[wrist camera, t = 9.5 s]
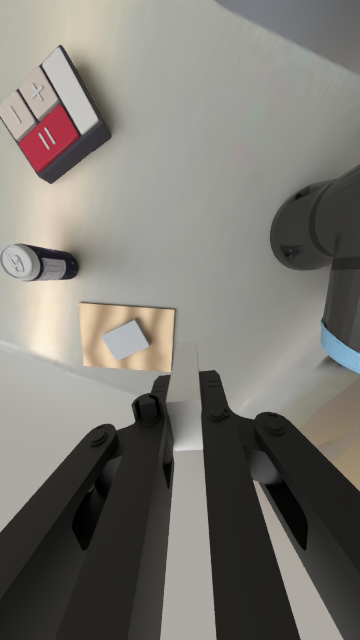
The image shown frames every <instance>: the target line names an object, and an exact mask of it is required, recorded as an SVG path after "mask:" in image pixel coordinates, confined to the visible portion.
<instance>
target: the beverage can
mask: <svg viewBox="0 0 360 640" xmlns="http://www.w3.org/2000/svg"><path fill="white" fill-rule="evenodd" d="M0 263H1V266H2V268H3V269H4V271H5V272H6V273H7V274H8V275H10V276H11V277H13V278H16V279H20V280H23V281H45V280H67V279H72V278H74V277H75V276H76V274H77V272H78V264H77V261H76V259H75V258H74V257H73V256H72V255H71V254H69V253H67V252H63V251H57V250H52V249H47V248H41V247H36V246H31V245H25V244H14V245H9V246H6V247H4V248H3V249H2V251H1V253H0Z"/></svg>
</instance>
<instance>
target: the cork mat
mask: <svg viewBox="0 0 360 640" xmlns="http://www.w3.org/2000/svg"><path fill="white" fill-rule="evenodd" d="M78 304H79V315H80V326H81V337H82V348H83V359H84V366H94V367H108V368H122V369H136V370H150V371H164V372H171V362H172V346H173V329H174V312H175V309H161V308H147V307H133V306H119V305H104V304H90V303H78ZM135 318H137V319H138V321H139V323H140V324H141V326H142V328H143V330H144V331H145V333H146V335H147V337H148V338H149V340H150V342H151V345H150V346H149V347H147V348H145V349H143V350H140V351H138V352H136V353H134V354H132V355H129V356H127V357H125V358H123V359H121V360H119V361H116V359H115V358H114V356H113V355H112V353H111V352H110V350H109V349H108V347H107V345H106V344H105V342H104V341H103V339H102V338H101V336H102V335H103V334H105V333H107V332H109V331H111V330H113V329H115V328H117V327H119V326H121V325H123V324H125V323H127V322H129V321H131V320H133V319H135Z"/></svg>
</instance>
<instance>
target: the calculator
mask: <svg viewBox="0 0 360 640" xmlns="http://www.w3.org/2000/svg"><path fill="white" fill-rule="evenodd" d="M0 118H1V120H2V122H3V123H4V125H5V126H6V128H7V129H8V131H9V132H10V134H11V135H12V137H13V138H14V140H15V141H16V143H17V144H18V146H19V148H20V149H21V151H22V152H23V154H24V155H25V157H26V158H27V160H28V161H29V163H30V164H31V166H32V167H33V169H34V171H35V172H36V174H37V175H38V176H39V177H40V178H42V179H43V180H45V181H47V182H48V183H50V184H52V183H53V182H55V181H56V180H57V179H58V178H60V177H61V176H62V175H64V174H65V173H66V172H67V171H69V170H70V169H71V168H73V167H74V166H75V165H76V164H77V163H78V162H80V161H81V160H82V159H83V158H84V157H86V156H87V155H88V154H89V153H90V152H92V151H95V150H96V149H97V148H99V147H100V146H101V145H103V144H104V143H105V142H107V141H108V140H109V139H110V138H111V134H110V132H109V130H108V128H107V126H106V124H105V122H104V120H103V119H102V117H101V115H100V113H99V111H98V109H97V107H96V106H95V104H94V102H93V100H92V98H91V96H90V94H89V92H88V91H87V89H86V87H85V85H84V83H83V81H82V79H81V77H80V76H79V74H78V72H77V70H76V68H75V67H74V65H73V63H72V61H71V60H70V58H69V56H68V54H67V53H66V51H65V49H64V48H63V46H62V45H59V46H58V47H57V48H56V49H55V50H54V51H53V52H52V53H51V54H50V55H49V56H48V57H47V59H46V60H45V61H44V62H43V63H42V64H41V65H40V66H37V67H36V68H35V69H34V70H33V71H32V72H31V73H30V75H29V76H28V77H27V78H26V79H25V80H24V81H23V82H22V83H21V84H20V85H19V88H18V89H17V90H15V91H13V93H12V94H11V95H10V96H9V97H8V98H7V99H6V100H5V101H4V102H3V103H2V104H1V105H0Z"/></svg>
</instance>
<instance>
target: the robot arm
mask: <svg viewBox="0 0 360 640" xmlns="http://www.w3.org/2000/svg"><path fill="white" fill-rule="evenodd" d="M270 242H271V247H272V250H273V253H274V255H275V256H276V258H277V259H278V260H279V261H280V262H281V263H282V264H283V265H284V266H286V267H288V268H291V269H294V270H314V269H318V268H322V267H324V266H327V265H329V264H331V263H332V268H331V272H330V279H329V285H328V291H327V298H326V304H325V309H324V314H323V317H322V319H321V326H322V332H321V345H322V347H323V349H324V350H325V351H326V352H327V353H328V354H329V356H330V357H331V358H333V359H334V360H335V361H337V362H338V363H340V364H341V365H343V366H345V367H347V368H348V369H350V370H352V371H355V372H357V373H359V374H360V165H358V166H357V167H355V168H353V169H352V170H350V171H349V172H347V173H346V174H344V175H342V176H341V177H339V178H338V179H334V180H329V181H324V182H319V183H315V184H312V185H309V186H307V187H305V188H303V189H301V190H300V191H298V192H297V193H296V194H294V195H293V196H291V197H290V198H289V199H288V200H287V201H286V202H285V203H284V204H283V205H282V206H281V207H280V209H279V210H278V212H277V214H276V216H275V218H274V220H273V223H272V226H271V232H270ZM132 409H133V412H134V417H135V423H134V424H132V425H130V426H128V427H126V428H122V429H119V430H116V429H115V427H114V426H113V425H111V424H103V425H100V426H97V427H96V428H94V429H92V430H91V431H90V432H89V433H88V434H87V435H86V436H85V437H84V438H83V439H82V440H81V441H80V443H79V444H78V445H77V446H76V447H75V448H74V449H73V451H72V452H71V453H70V454H69V455H68V456H67V457H66V459H65V460H64V461H63V462H62V463H61V464H60V465H59V466H58V468H57V469H56V470H55V471H54V472H53V473H52V474H51V476H50V477H49V478H48V479H47V480H46V481H45V482H44V484H43V485H42V486H41V487H40V488H39V489H38V490H37V492H36V493H35V494H34V495H33V496H32V497H31V498H30V499H29V501H28V502H27V503H26V504H25V505H24V506H23V507H22V509H21V510H20V511H19V512H18V513H17V514H16V515H15V516H14V518H13V519H12V520H11V521H10V522H9V523H8V525H7V526H6V527H5V528H4V529H3V530H2V531H1V532H0V640H160V633H161V620H162V609H163V597H164V584H165V572H166V559H167V547H168V535H169V522H170V509H171V498H172V486H173V473H174V458H173V446H174V448H175V451H182V450H199V449H200V450H202V449H203V453H204V467H205V482H206V496H207V511H208V524H209V539H210V553H211V566H212V580H213V594H214V610H215V624H216V637H217V640H301V639H300V636H299V633H298V629H297V627H296V623H295V619H294V616H293V613H292V610H291V606H290V603H289V600H288V596H287V593H286V590H285V586H284V583H283V580H282V576H281V573H280V570H279V567H278V563H277V560H276V557H275V553H274V550H273V546H272V543H271V540H270V536H269V533H268V530H267V526H266V523H265V520H264V516H263V513H262V510H261V506H260V503H259V500H258V496H257V493H256V490H255V486H254V483H253V480H255V481H258V482H259V484H260V486H261V488H262V489H263V491H264V493H265V495H266V497H267V499H268V501H269V502H270V504H271V506H272V508H273V510H274V512H275V513H276V515H277V517H278V519H279V521H280V523H281V524H282V526H283V528H284V530H285V532H286V533H287V536H288V538H289V539H290V541H291V543H292V545H293V547H294V549H295V550H296V552H297V554H298V556H299V558H300V559H301V562H302V563H303V565H304V567H305V569H306V571H307V573H308V574H309V576H310V578H311V580H312V582H313V584H314V586H315V587H316V589H317V591H318V593H319V595H320V597H321V598H322V600H323V602H324V604H325V606H326V608H327V610H328V611H329V613H330V615H331V617H332V619H333V620H334V622H335V624H336V626H337V628H338V630H339V632H340V633H341V635H342V637H343V639H344V640H360V491H359V490H358V489H356V487H355V486H354V485H353V484H352V483H351V482H350V481H349V480H348V479H347V478H346V477H345V476H344V475H343V474H342V473H341V472H340V471H339V470H338V469H337V468H336V467H335V466H334V465H333V464H332V463H331V462H330V461H329V460H328V459H327V458H326V457H325V456H324V455H323V454H322V453H321V452H320V451H319V450H318V449H317V448H316V447H315V446H314V445H313V444H312V443H311V442H310V441H309V440H308V439H307V438H306V437H305V436H304V435H303V434H302V433H301V432H300V431H299V430H298V429H297V428H296V427H295V426H294V425H293V424H292V423H291V422H290V421H289V420H287V419H286V418H285V417H283V416H281V415H279V414H277V413H272V412H263V413H260V414H258V415H257V416H256V418H255V419H254V420H253V419H248V418H244V417H241V416H239V415H237V414H235V413H234V412H232V411H231V409H230V408H229V406H228V403H227V400H226V396H225V393H224V389H223V386H222V382H221V379H220V375H219V374H218V373H217V372H216V371H215V370H211V371H201V372H200V371H199V363H198V355H197V347H196V341H190V342H181V343H177V346H176V351H175V357H174V362H173V367H172V372H171V375H164V376H159V377H158V378H157V379H156V380H155V381H154V384H153V388H152V390H151V393H147V394H144V395H142V396H139V397H138V398H137V399H135V400H134V402H133V403H132ZM54 638H55V639H54Z"/></svg>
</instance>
